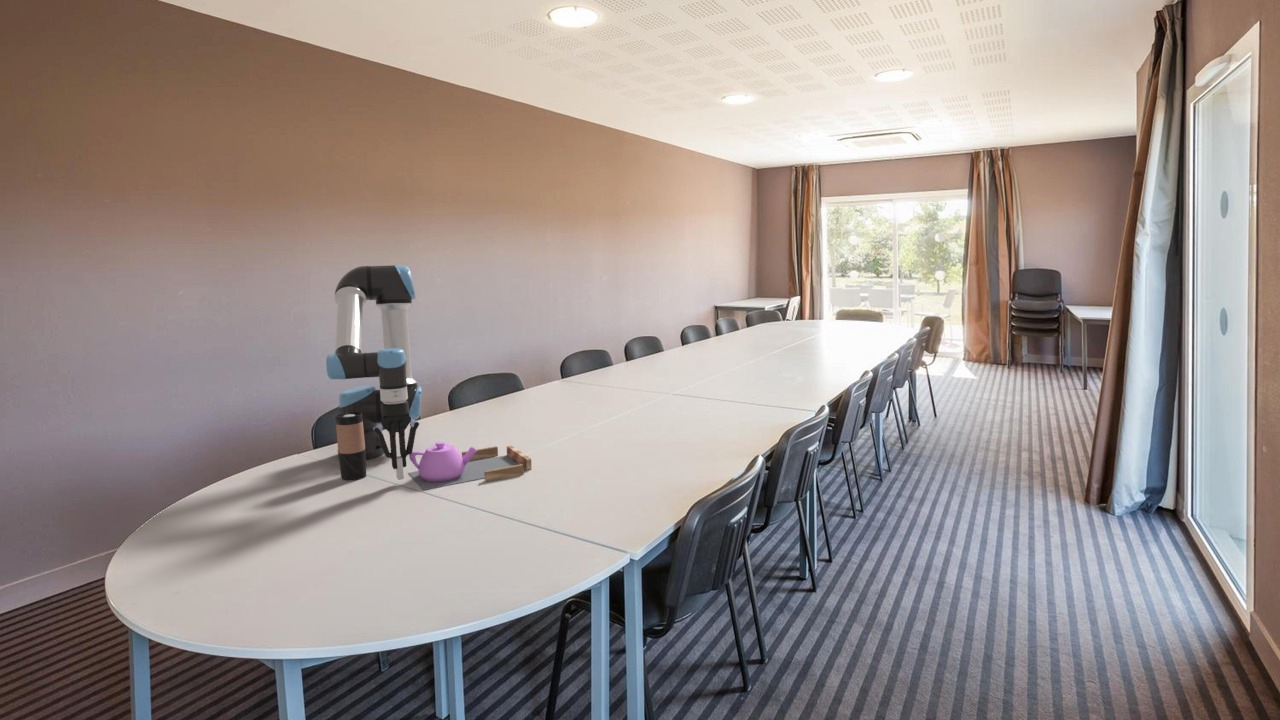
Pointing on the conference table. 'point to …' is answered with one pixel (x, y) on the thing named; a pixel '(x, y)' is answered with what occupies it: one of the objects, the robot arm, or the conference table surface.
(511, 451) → the bay
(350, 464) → the travel mug
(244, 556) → the conference table surface
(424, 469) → the teapot
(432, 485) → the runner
